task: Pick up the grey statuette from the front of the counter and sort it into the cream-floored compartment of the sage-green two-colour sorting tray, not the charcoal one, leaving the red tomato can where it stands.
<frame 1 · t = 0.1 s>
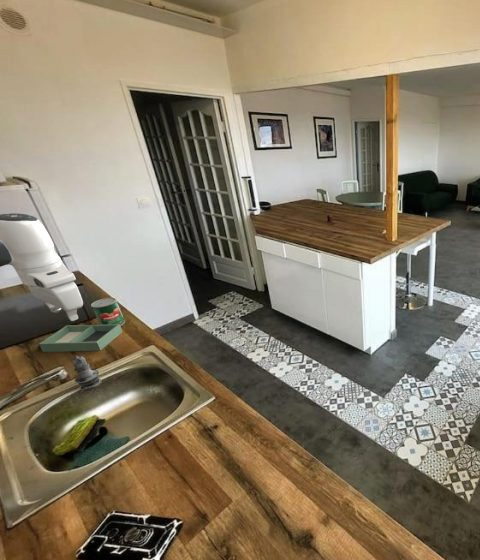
hand: (65, 315, 91), 26 cm above the countertop, tool pointing down, fingers open, 8 cm apart
canned tomato: (113, 324, 132), on the countertop
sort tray: (85, 341, 121), on the countertop
grey statuette: (91, 385, 101), on the countertop
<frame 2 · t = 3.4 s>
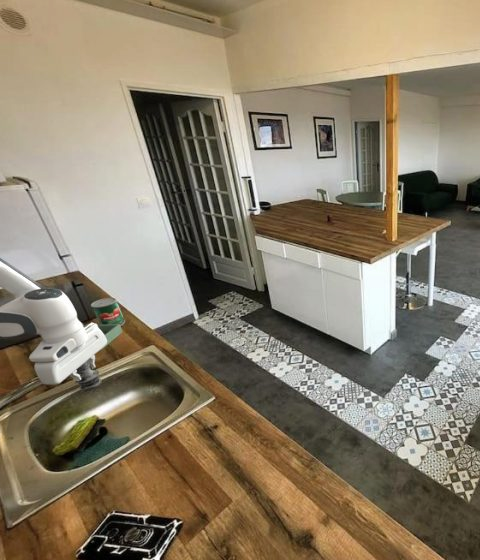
hand: (85, 374, 99), 5 cm above the countertop, tool pointing down, fingers closed on grey statuette, 3 cm apart
grey statuette: (91, 385, 101), on the countertop, touching gripper
everything else where it was.
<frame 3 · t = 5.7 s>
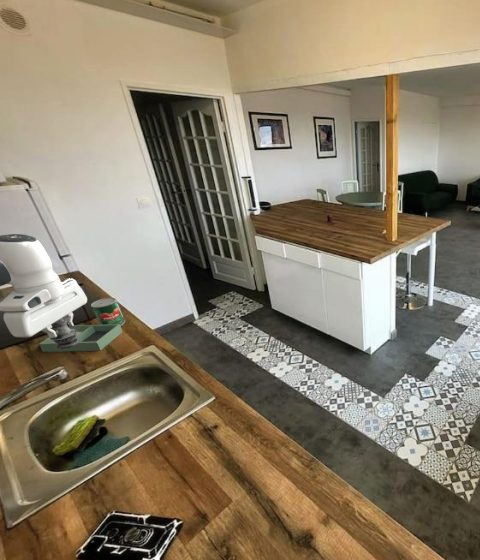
hand: (62, 331, 93), 20 cm above the countertop, tool pointing down, fingers closed on grey statuette, 3 cm apart
grey statuette: (68, 344, 95), point 16 cm above the countertop, touching gripper
everything else where it was.
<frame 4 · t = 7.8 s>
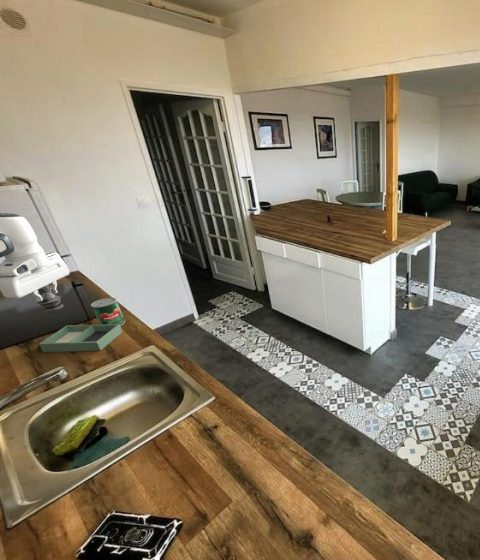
hand: (47, 297, 109), 21 cm above the countertop, tool pointing down, fingers closed on grey statuette, 3 cm apart
grey statuette: (54, 308, 111), point 16 cm above the countertop, touching gripper
everything else where it was.
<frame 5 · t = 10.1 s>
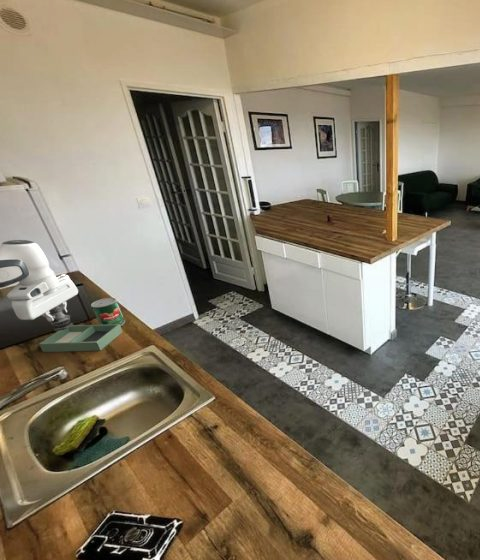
hand: (58, 316, 115), 12 cm above the countertop, tool pointing down, fingers closed on grey statuette, 3 cm apart
grey statuette: (63, 327, 118), point 7 cm above the countertop, touching gripper
everything else where it was.
when the fingers open (5 cm above the countertop, at t = 12.1 s): grey statuette stays where it is, resting on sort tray.
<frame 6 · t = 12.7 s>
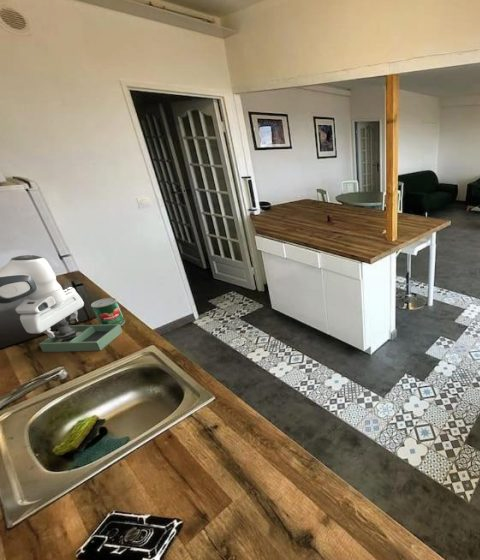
hand: (64, 329, 118), 6 cm above the countertop, tool pointing down, fingers open, 8 cm apart
grey statuette: (70, 340, 120), point 1 cm above the countertop, touching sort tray
everything else where it was.
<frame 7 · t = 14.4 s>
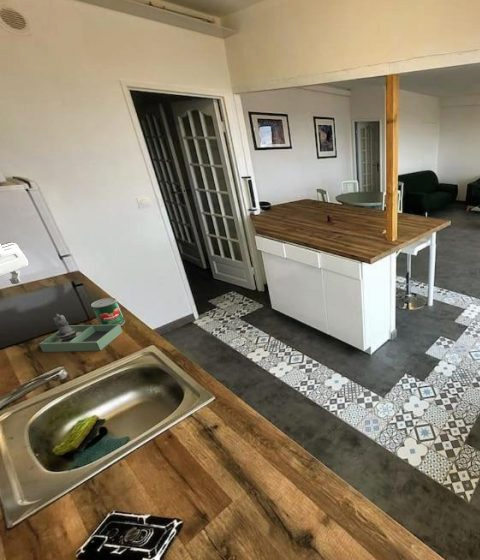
hand: (2, 288, 104), 26 cm above the countertop, tool pointing down, fingers open, 8 cm apart
nothing on the countertop moved.
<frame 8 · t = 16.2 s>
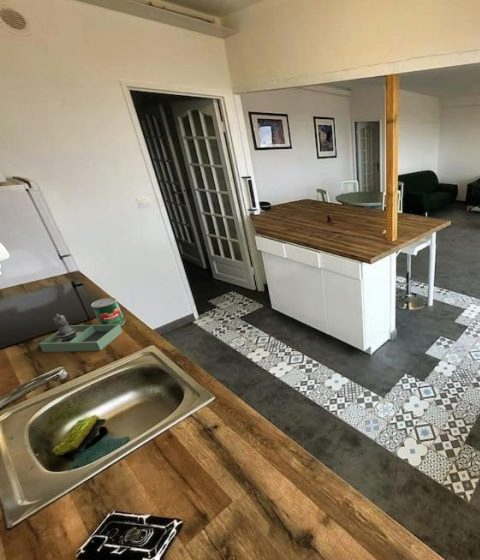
nothing on the countertop moved.
at the end: grey statuette inside the target area on the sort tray (0.0 cm from its centre), point 0.8 cm above the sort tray's base; grey statuette tilted 0°; the gripper is holding nothing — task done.
